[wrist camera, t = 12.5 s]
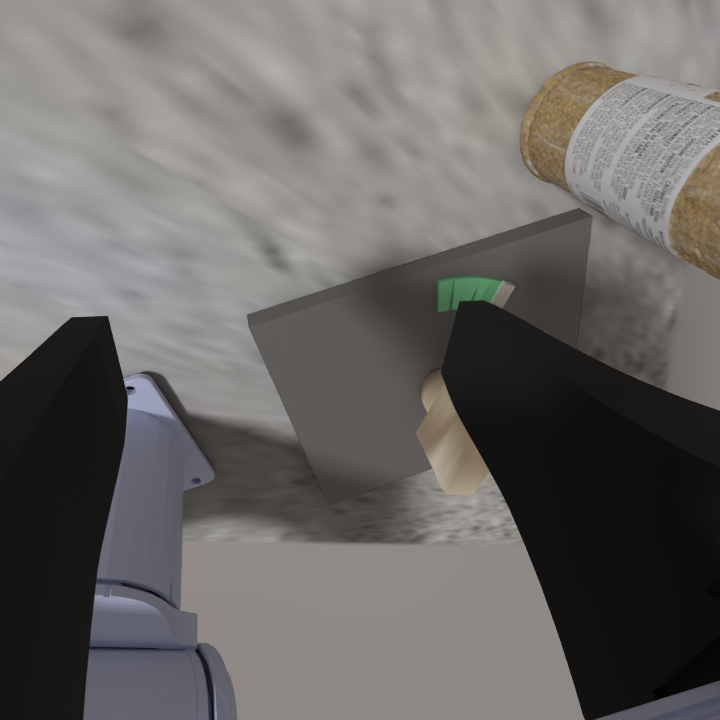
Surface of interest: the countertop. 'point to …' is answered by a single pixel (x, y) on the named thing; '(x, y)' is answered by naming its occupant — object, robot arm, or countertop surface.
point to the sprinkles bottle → (633, 154)
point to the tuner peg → (452, 430)
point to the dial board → (405, 344)
